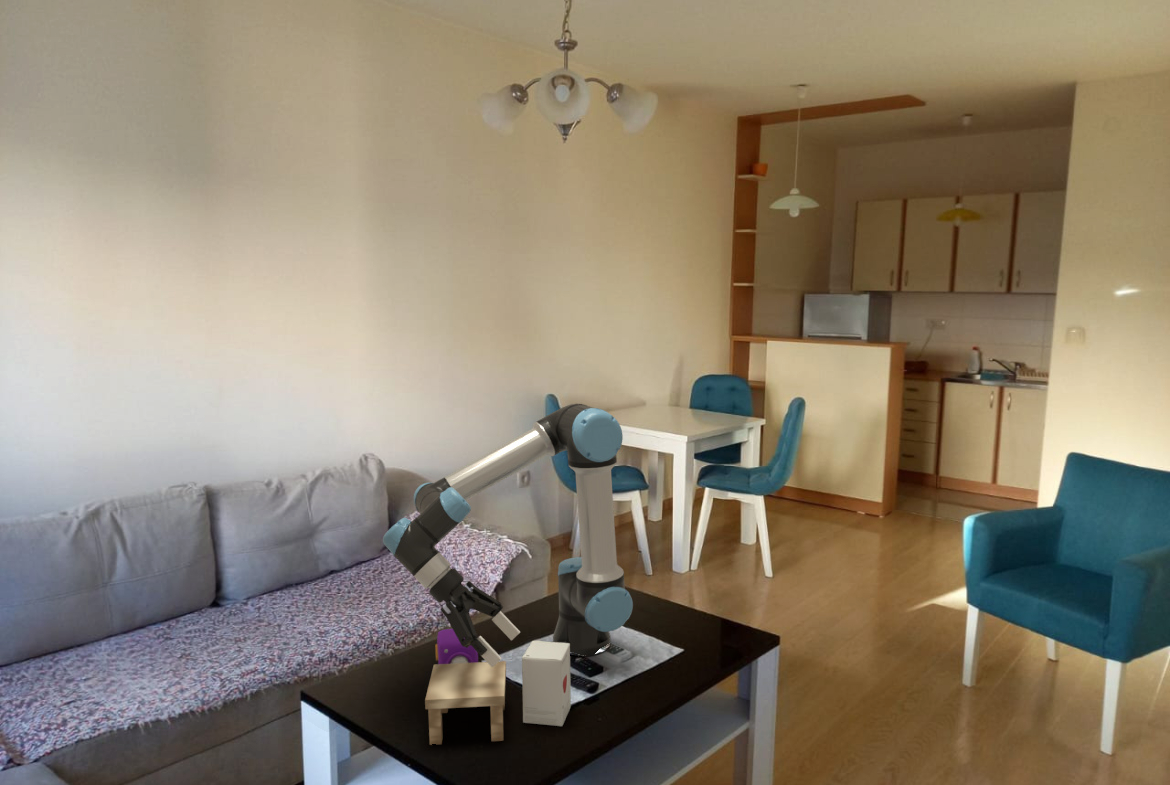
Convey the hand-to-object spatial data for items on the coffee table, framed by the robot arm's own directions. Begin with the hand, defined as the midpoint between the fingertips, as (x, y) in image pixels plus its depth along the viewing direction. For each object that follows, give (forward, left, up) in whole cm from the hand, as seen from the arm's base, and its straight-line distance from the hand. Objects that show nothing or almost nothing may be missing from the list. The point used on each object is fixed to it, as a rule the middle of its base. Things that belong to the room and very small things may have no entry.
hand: (506, 649), depth 176 cm
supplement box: (-9, +2, -15) cm, 17 cm away
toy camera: (+12, -20, -15) cm, 28 cm away
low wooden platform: (+8, +4, -15) cm, 17 cm away
